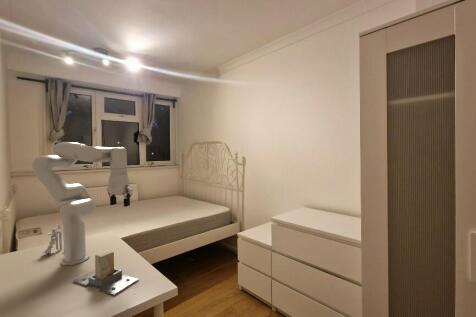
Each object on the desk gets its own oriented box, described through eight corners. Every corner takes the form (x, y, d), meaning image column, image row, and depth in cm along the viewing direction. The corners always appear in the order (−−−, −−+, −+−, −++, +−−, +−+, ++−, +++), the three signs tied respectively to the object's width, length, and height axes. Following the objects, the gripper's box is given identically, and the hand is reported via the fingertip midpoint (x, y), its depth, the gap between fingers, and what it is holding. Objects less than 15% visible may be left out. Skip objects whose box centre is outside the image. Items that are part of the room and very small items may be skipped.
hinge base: (73, 282, 102) (72, 274, 102) (99, 269, 113) (98, 262, 113) (114, 296, 91) (113, 287, 91) (138, 280, 102) (138, 272, 102)
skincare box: (100, 285, 98) (99, 257, 98) (95, 282, 101) (94, 255, 100) (115, 278, 104) (114, 251, 104) (109, 275, 106) (108, 249, 106)
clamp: (41, 255, 130) (39, 229, 130) (57, 248, 139) (56, 224, 139) (46, 256, 129) (45, 229, 129) (63, 249, 138) (62, 224, 138)
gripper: (100, 172, 117) (101, 205, 117) (124, 172, 110) (125, 208, 110) (113, 170, 124) (114, 202, 124) (137, 171, 116) (138, 205, 117)
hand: (120, 205), depth 117 cm, fingers open, 9 cm apart
